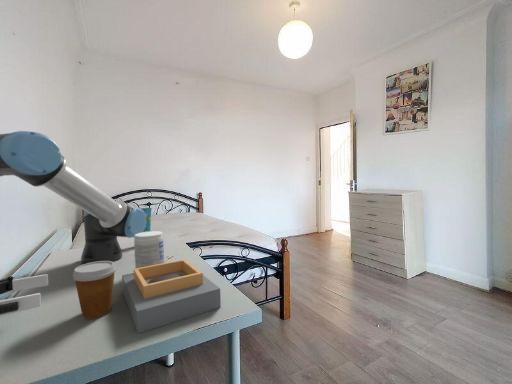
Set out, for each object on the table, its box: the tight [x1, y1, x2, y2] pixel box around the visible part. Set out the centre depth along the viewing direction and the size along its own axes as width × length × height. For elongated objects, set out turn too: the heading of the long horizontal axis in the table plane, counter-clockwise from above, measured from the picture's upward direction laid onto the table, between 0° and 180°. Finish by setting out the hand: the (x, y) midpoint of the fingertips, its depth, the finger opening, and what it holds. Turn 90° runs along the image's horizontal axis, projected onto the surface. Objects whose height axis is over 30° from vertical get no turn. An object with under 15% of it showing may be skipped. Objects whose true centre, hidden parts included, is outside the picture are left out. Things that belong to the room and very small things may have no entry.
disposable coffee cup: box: [71, 261, 117, 320], centre depth 66 cm, size 10×10×12 cm
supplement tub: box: [133, 230, 165, 269], centre depth 92 cm, size 10×10×15 cm
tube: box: [137, 207, 153, 232], centre depth 134 cm, size 7×5×19 cm, turn 103°
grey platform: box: [121, 258, 222, 334], centre depth 75 cm, size 30×20×8 cm, turn 34°
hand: (44, 288), depth 60 cm, fingers open, 13 cm apart
